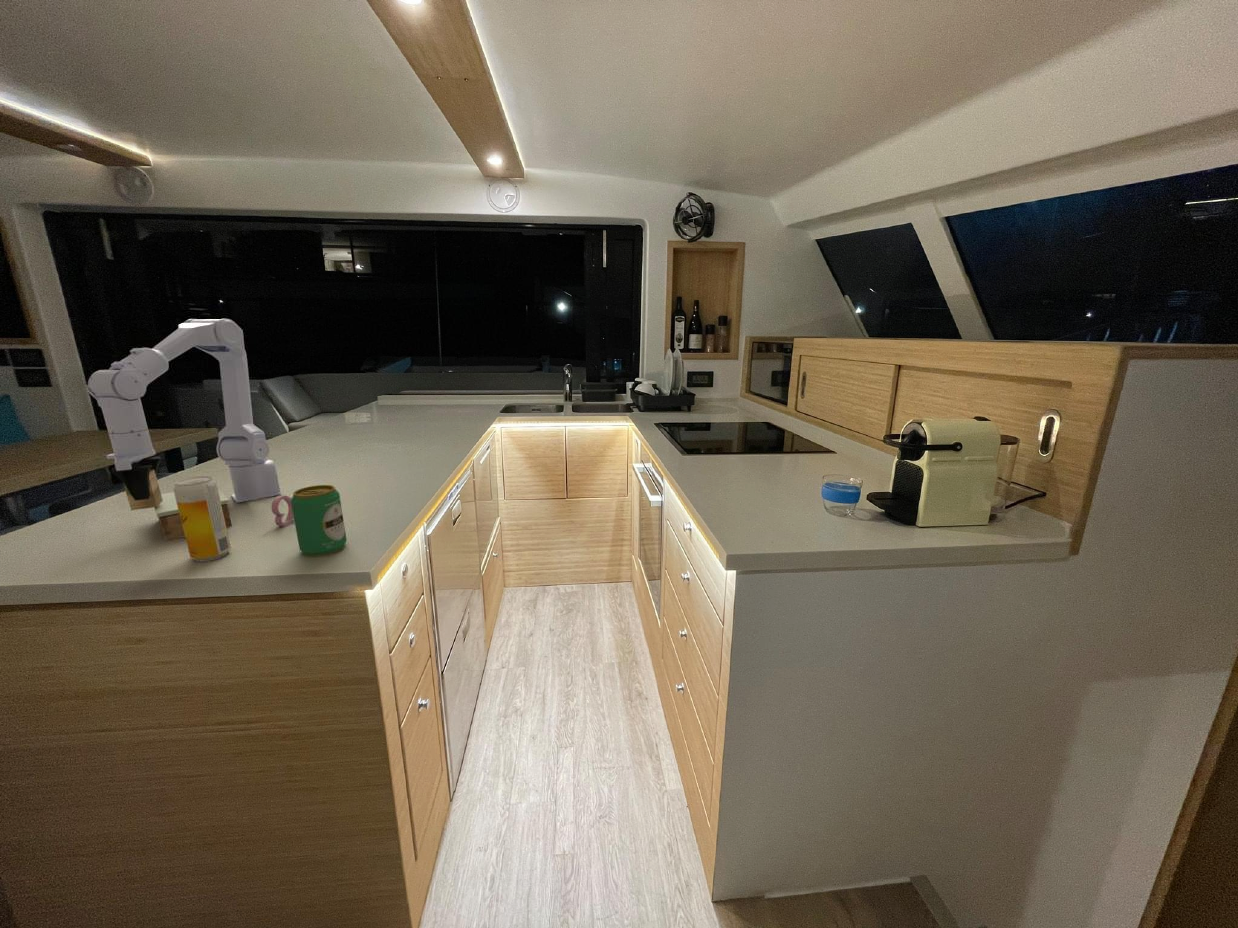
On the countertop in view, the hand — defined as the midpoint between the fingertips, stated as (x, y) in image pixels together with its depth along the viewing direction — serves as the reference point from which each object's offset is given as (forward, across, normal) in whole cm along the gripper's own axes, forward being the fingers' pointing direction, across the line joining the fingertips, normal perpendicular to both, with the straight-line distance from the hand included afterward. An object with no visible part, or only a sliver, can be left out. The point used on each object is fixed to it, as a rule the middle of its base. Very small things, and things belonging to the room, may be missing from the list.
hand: (145, 496), depth 103 cm
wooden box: (+9, -5, +6) cm, 11 cm away
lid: (+4, -5, +6) cm, 8 cm away
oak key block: (+2, 0, 0) cm, 2 cm away
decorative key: (+9, 0, +27) cm, 29 cm away
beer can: (+9, +18, +12) cm, 24 cm away
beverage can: (+9, +25, +31) cm, 41 cm away
